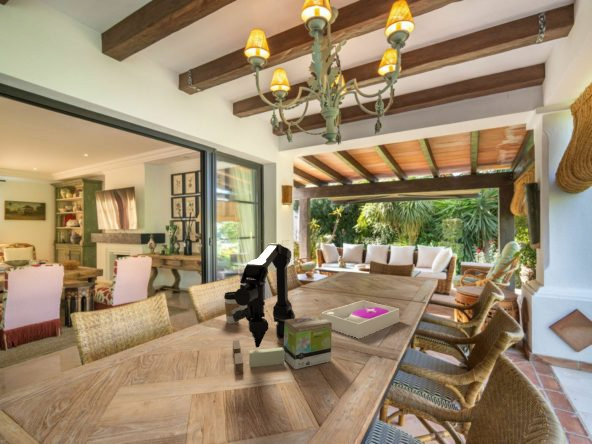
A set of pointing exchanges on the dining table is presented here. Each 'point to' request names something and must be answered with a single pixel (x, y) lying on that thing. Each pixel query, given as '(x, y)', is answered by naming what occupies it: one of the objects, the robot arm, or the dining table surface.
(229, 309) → the coffee cup
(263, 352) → the pale green pillar
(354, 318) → the cream tray
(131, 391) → the dining table surface
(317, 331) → the tea box
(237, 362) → the walnut rail
